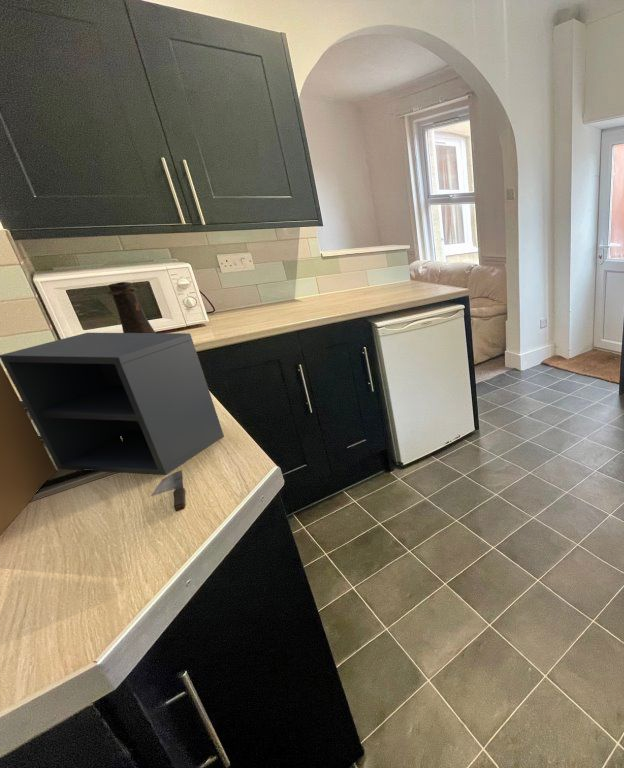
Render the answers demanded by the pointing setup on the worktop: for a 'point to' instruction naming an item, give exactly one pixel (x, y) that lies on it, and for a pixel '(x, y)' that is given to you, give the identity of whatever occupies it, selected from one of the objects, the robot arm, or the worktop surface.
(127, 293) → the dark brown vase
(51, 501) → the worktop surface
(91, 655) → the worktop surface
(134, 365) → the cupboard
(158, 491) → the cleaver
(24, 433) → the cupboard door
